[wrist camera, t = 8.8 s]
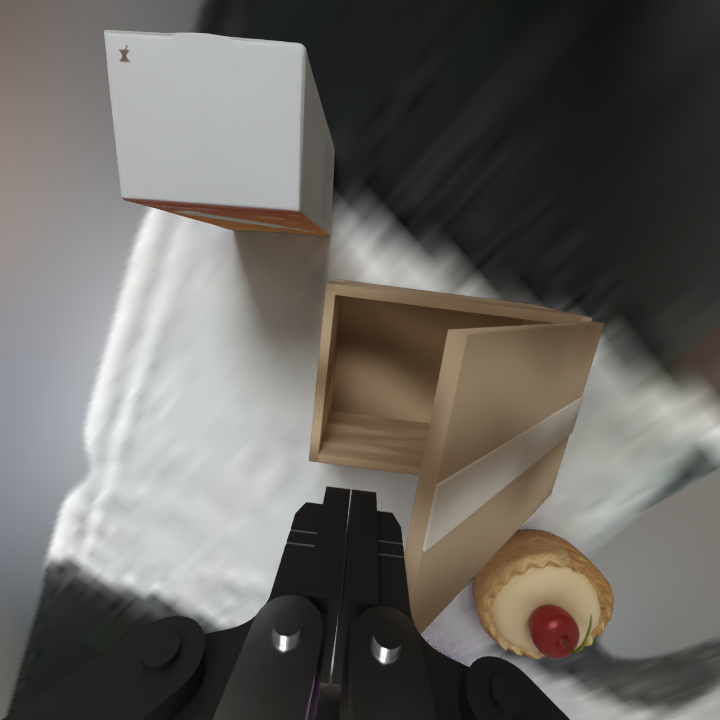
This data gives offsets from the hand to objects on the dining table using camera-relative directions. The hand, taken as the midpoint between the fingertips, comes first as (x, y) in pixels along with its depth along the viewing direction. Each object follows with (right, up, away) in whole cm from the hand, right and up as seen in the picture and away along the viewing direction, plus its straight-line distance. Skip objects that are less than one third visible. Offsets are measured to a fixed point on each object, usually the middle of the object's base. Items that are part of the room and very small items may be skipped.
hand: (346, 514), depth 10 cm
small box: (-6, +18, +17) cm, 25 cm away
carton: (+6, +5, +19) cm, 21 cm away
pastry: (+17, -17, +25) cm, 35 cm away
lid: (+8, +1, +6) cm, 10 cm away
